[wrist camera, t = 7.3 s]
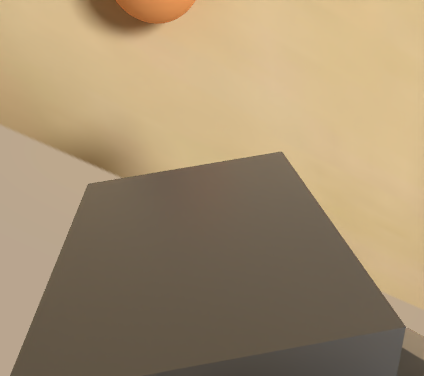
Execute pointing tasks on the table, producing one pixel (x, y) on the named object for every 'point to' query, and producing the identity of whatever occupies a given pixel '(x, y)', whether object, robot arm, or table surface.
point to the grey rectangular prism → (209, 283)
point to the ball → (156, 9)
